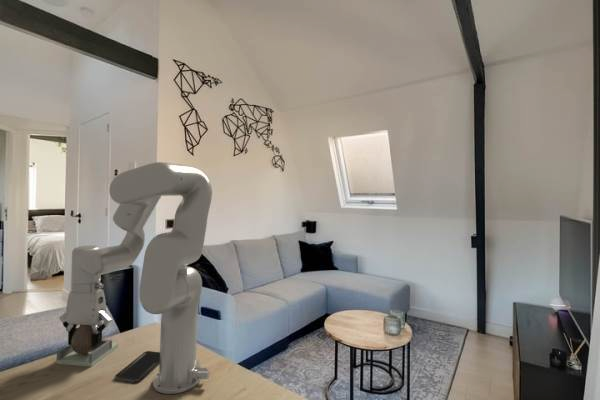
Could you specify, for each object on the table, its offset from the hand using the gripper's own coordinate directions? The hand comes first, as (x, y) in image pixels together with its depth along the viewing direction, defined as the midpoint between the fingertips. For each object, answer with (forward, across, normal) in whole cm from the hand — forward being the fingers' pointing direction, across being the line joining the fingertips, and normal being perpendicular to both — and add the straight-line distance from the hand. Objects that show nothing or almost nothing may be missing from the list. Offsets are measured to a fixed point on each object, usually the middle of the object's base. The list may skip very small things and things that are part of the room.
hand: (85, 343), depth 97 cm
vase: (+3, 0, 0) cm, 3 cm away
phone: (+5, -20, +2) cm, 21 cm away
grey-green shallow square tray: (+5, 0, -2) cm, 5 cm away
